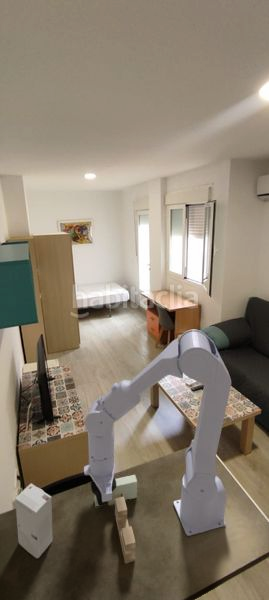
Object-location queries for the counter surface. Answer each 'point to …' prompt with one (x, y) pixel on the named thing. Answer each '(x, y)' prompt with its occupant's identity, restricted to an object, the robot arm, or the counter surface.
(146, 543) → the counter surface
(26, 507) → the skincare box
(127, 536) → the wooden notched block
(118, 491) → the slotted plate
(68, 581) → the counter surface
